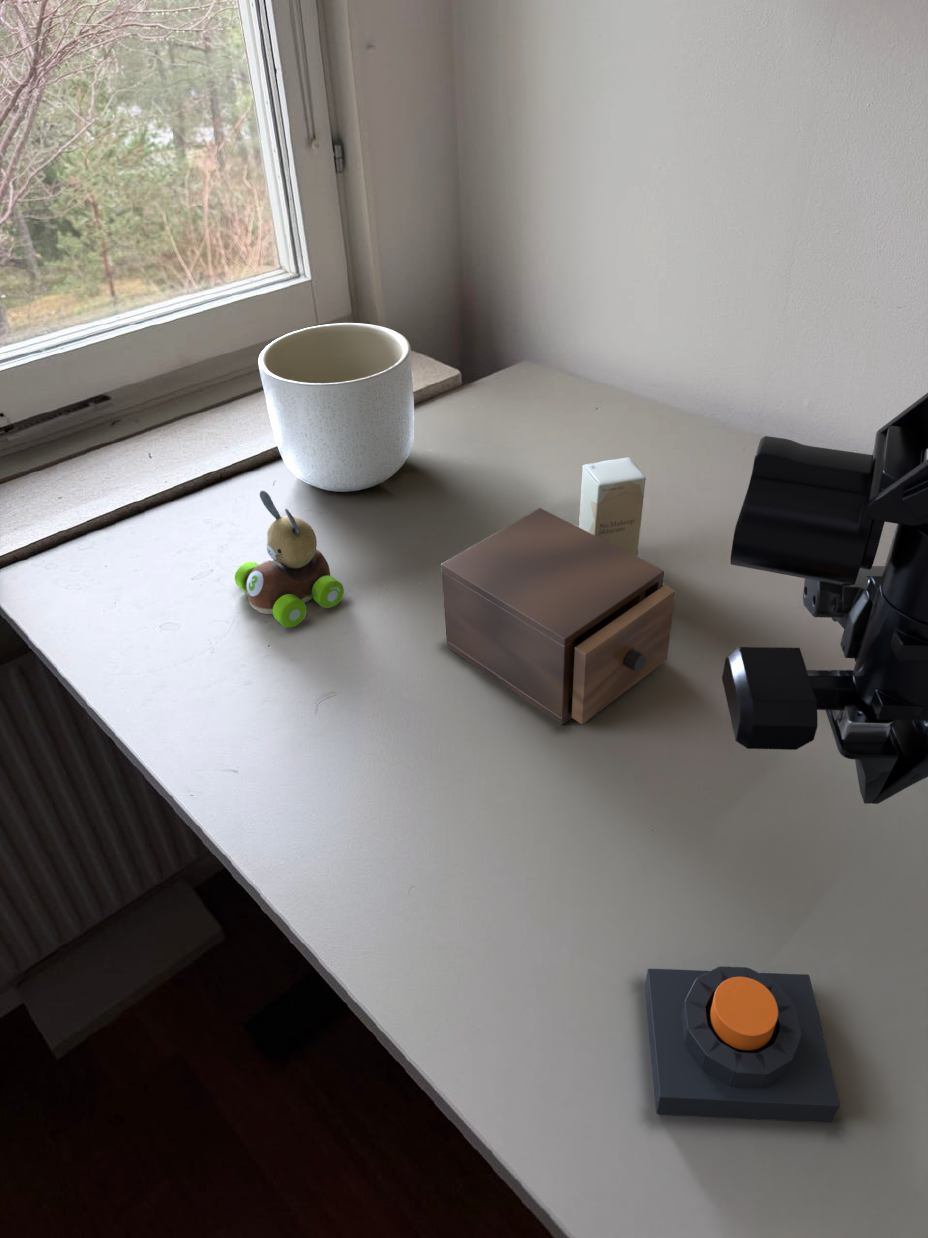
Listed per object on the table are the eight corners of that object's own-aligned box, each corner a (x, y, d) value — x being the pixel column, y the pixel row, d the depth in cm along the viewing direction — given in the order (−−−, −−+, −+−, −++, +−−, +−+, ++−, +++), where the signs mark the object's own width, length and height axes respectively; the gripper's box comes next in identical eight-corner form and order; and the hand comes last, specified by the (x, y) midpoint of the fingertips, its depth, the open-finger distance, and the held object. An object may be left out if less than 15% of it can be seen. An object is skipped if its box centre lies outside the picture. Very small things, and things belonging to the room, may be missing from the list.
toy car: (231, 594, 96) (207, 500, 89) (304, 559, 100) (287, 468, 93) (277, 636, 90) (257, 540, 83) (353, 598, 94) (339, 503, 87)
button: (767, 993, 56) (772, 977, 55) (778, 1052, 53) (784, 1037, 52) (706, 990, 56) (709, 975, 55) (714, 1049, 54) (718, 1034, 53)
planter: (440, 488, 110) (432, 365, 101) (299, 522, 106) (276, 397, 96) (394, 426, 123) (383, 312, 113) (266, 454, 118) (244, 338, 108)
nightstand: (655, 655, 86) (665, 570, 80) (561, 725, 79) (564, 639, 73) (539, 588, 94) (540, 507, 88) (446, 647, 88) (440, 563, 82)
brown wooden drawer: (678, 666, 83) (687, 596, 78) (593, 732, 77) (597, 661, 72) (555, 595, 92) (557, 529, 87) (471, 650, 86) (467, 582, 81)
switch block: (802, 992, 60) (814, 958, 57) (832, 1123, 54) (847, 1091, 51) (644, 986, 61) (649, 952, 58) (656, 1114, 55) (662, 1082, 52)
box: (590, 579, 95) (595, 485, 88) (575, 556, 98) (579, 463, 91) (639, 570, 96) (647, 475, 89) (622, 547, 99) (629, 454, 92)
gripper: (1065, 507, 53) (980, 707, 62) (726, 507, 54) (695, 702, 64) (1168, 635, 44) (1050, 843, 54) (761, 631, 45) (719, 834, 55)
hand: (868, 797), depth 57 cm, fingers closed
